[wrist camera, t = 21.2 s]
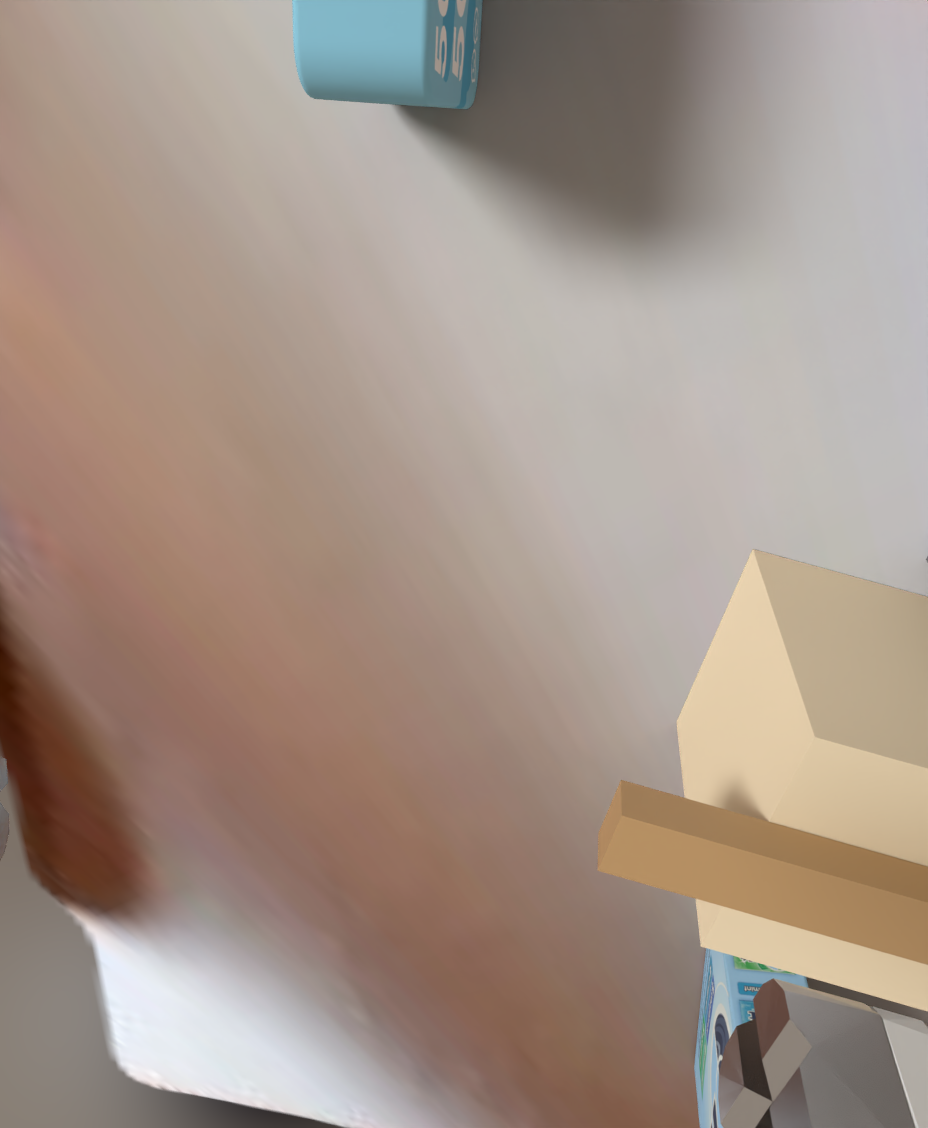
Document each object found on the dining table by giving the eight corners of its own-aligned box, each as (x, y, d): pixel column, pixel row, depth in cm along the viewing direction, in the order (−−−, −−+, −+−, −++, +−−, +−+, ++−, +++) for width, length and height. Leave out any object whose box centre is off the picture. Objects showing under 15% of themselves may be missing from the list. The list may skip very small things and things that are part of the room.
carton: (676, 721, 52) (700, 947, 38) (752, 548, 46) (815, 737, 32) (938, 795, 51) (1062, 1051, 37) (1048, 629, 46) (1243, 857, 32)
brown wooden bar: (598, 833, 36) (597, 870, 34) (621, 779, 34) (621, 815, 33) (1124, 983, 35) (1152, 1029, 33) (1170, 935, 34) (1201, 980, 32)
